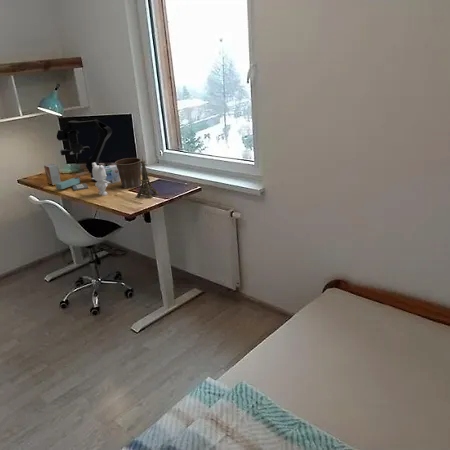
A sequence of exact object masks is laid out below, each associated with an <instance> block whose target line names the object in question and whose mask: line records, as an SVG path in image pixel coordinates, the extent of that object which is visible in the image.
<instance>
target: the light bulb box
mask: <svg viewBox="0 0 450 450" xmlns="http://www.w3.org/2000/svg"><path fill="white" fill-rule="evenodd" d="M104 169H105V171H106V175H107V176H106V179H104V180H106V181H107V182H111V183H107V186H108V185H112V184H116V183H121V180H120V176H119V172H118V169H117V166H116V164H110V165H107V166H104Z"/></svg>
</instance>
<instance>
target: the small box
mask: <svg viewBox="0 0 450 450" xmlns="http://www.w3.org/2000/svg"><path fill="white" fill-rule="evenodd" d="M43 167H44V173H45V177H46V182H47V184H48V183H49V184H52V185H54V184H57V183H60V182H62V180H61V176H60V170H59V166H58V164H55V163H49V164H45V165H43ZM49 184H48V185H49ZM52 185H51V186H52Z"/></svg>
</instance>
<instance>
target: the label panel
mask: <svg viewBox="0 0 450 450" xmlns="http://www.w3.org/2000/svg"><path fill="white" fill-rule="evenodd" d="M71 188H72V190H73V191H74V192H76V190H77V191H81V190H88V189H89V188H90V187H89V186H88V183H86V182H85V183H80V184H78V185H76V184H75V185H73V186H71Z"/></svg>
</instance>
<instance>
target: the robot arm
mask: <svg viewBox="0 0 450 450" xmlns="http://www.w3.org/2000/svg"><path fill="white" fill-rule="evenodd" d="M91 127H93V128H94V129H95V131H96V132H97V133H98V141H97V143H96V146H95V148H94V151H93V153H92V156H90V157H88V158H87V159H86V162H85V167H86V169H87V170H88V172H89V174H90V180H91V182H93V183H96V182H97V181H96V180H94V179H91V178H94V177H93V174H92V169H93V167H92V163H94V162H95V163H96V164H97V165H99V166H100V156H101V154H102V152H103V151H104V150H103V149H104V148H105V145H106V142H107V140H108V139H109V138H110V137H111V135H112V133H113V129H112V128H111V127H110V126H108V125H107V124H106V123H104V122H102V121H100V120H99V119H93V120H85V121H84V120H83V121H79V120H70V121H69V120H68V121H67V122H65V123H64V127H63V129H58V130H57V132H56V139H57V140H58V141H62V142H63V141H68V143H69V148H70V149H66V148H65V149H60V156H68V154H69V155H70V156H72V157H73V158H74V161H75V163H76V164H79V162H80V160H79V159H80V156H81V155H82V154H83V153H82V152H86V153H88V152H91V148H90V146H88V145H86V146H83V144H80V143H79V139H78V134H80V131H79V130H78V129H81V128H91Z"/></svg>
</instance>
